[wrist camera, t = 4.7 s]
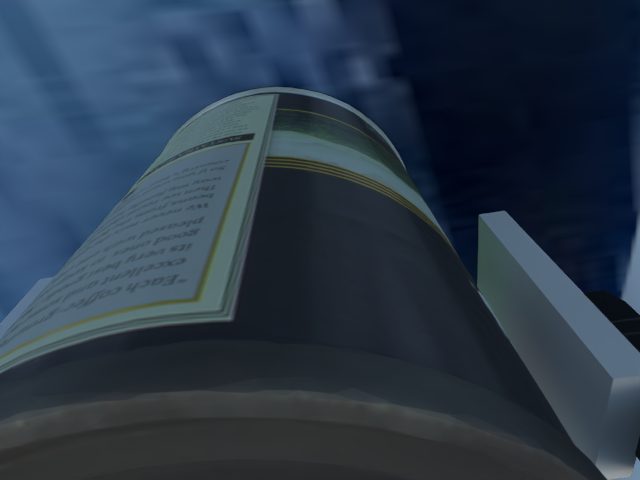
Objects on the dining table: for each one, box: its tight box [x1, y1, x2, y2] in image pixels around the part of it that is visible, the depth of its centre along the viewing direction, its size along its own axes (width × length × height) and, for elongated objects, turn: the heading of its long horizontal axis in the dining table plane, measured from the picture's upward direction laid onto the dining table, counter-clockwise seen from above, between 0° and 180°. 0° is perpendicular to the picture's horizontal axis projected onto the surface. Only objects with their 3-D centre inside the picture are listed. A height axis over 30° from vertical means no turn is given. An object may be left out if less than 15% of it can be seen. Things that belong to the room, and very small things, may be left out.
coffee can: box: [0, 87, 607, 480], centre depth 12 cm, size 10×10×14 cm
